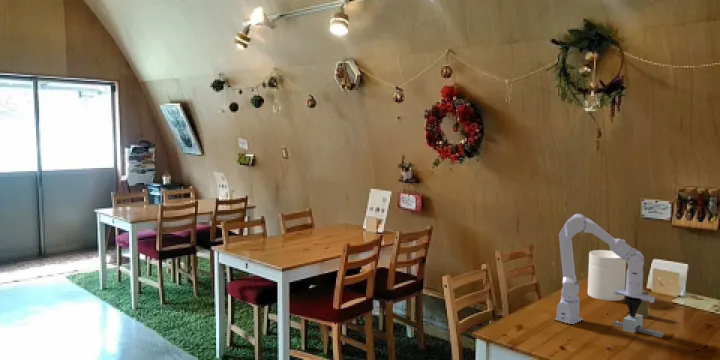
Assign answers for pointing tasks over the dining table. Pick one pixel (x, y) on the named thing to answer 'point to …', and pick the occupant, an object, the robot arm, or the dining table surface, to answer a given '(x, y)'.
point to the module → (632, 323)
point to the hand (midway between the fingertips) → (632, 316)
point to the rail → (641, 329)
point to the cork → (643, 307)
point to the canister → (606, 275)
